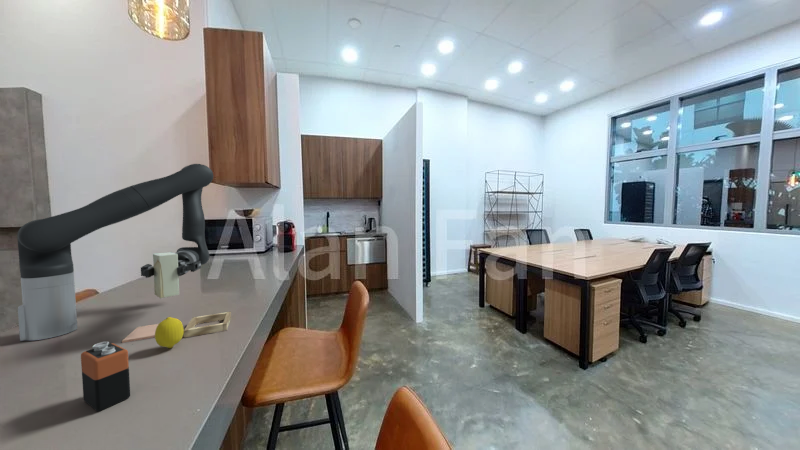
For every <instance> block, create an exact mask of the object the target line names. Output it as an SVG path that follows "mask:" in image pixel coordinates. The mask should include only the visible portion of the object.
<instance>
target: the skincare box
mask: <svg viewBox="0 0 800 450" xmlns="http://www.w3.org/2000/svg"><path fill="white" fill-rule="evenodd" d="M152 258H153V259H152V260H153V261H152V262H153V265H152V266H154V275H153V283H154V284H153V285H154V288H153V289H154V292H153V293H154V295H155V296H156V297H158V298H159V299H165V298H170V297H174V296H179V295H180V285H179V284H180V281H179V277H180V276H178V274H177V267H178V254H176V252H172V251H168V252H159V253H152Z"/></svg>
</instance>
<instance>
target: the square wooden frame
mask: <svg viewBox="0 0 800 450" xmlns="http://www.w3.org/2000/svg"><path fill="white" fill-rule="evenodd" d="M231 319H232V311H225V312H219V313H214V314H213V313H211V314H206V315H200V316H194V317H192V318H191V319H190V321H189V322H188V323H187V325H186V327H185V328H184V334H183V338H184V339H186V338H192V337H197V336H202V335H207V334H215V333H220V332H224V331H228V329H229V325H230V321H231ZM218 320H219V321H223V322H221V323H216V324H210V325H209V324H208V325H202V326H198V327H196V326H195V325H199V324H198V323H201V324H205V323H204V322H207V323H211V322H210V321H213V322H218Z"/></svg>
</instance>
